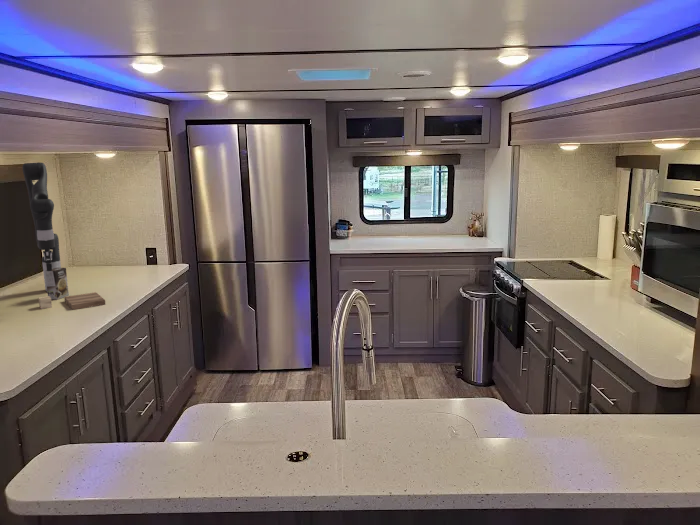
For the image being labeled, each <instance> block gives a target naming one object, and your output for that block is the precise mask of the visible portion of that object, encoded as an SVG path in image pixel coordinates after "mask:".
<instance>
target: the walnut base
mask: <svg viewBox="0 0 700 525" xmlns="http://www.w3.org/2000/svg"><path fill="white" fill-rule="evenodd" d="M63 299H64V303H66V305H67V306H68V307H69V308H70V309H71V310H73V311H74V310H78V309H79V310H80V309H85V307H86V308H92V307H98V306H103V305H104V306H105V305H106V299H105V298H104V297H102V296H101V295H100V294H99V293H98V292H96V291H95V292H89V293H87V292H86V293H80V294H74V295H69V296H66V297H63ZM91 306H92V307H91Z"/></svg>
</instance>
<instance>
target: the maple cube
mask: <svg viewBox="0 0 700 525" xmlns="http://www.w3.org/2000/svg"><path fill="white" fill-rule="evenodd" d="M38 305H39V308H40V309H41V310H42V309H49V308H50V309H51V308H52V307H53V302H52V299H51V298H50V296H48V295H47V296H40V297H38Z"/></svg>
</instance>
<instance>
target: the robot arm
mask: <svg viewBox="0 0 700 525" xmlns="http://www.w3.org/2000/svg"><path fill="white" fill-rule="evenodd" d="M22 172H23V173H22V174H23V177H24V183H25V185H26V190H27V194H28V200H29V209H30V211H31V215H32V218H33V219H32V220H33V224H34V229H35V230H34V231H35V240H36V245H37V248H38V249H39V250H40V251H42V254H43V256H42V257H41V262H42V271H43V280H44V281H43V282H44V289H45V292H47V283H46V273H45V271H46V270H47V271H52V269H53V268H62V267H61V266H62V264H61V263H62V262H61V256H60V254H61V253H60V242H59V236H58V234H57V233H54V229H53V215H54V214H53V213H54V209H55V204H54V201H53V200H52V199H50V198H49V192H48V172H47V167H46V164H44V162H27V163H23V164H22ZM33 181H36V182H35V183H33Z"/></svg>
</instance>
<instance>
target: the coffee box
mask: <svg viewBox="0 0 700 525" xmlns="http://www.w3.org/2000/svg"><path fill="white" fill-rule="evenodd" d="M45 273H46V283H47V291H46V293H47V296H50V298H51V300H60V299H64V297H66V296H70V295H69V294H70V293H69V286H68V284H69V283H68V276H67V268H66V267H61V268H53V269H52V271H47V270H46V271H45Z"/></svg>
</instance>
